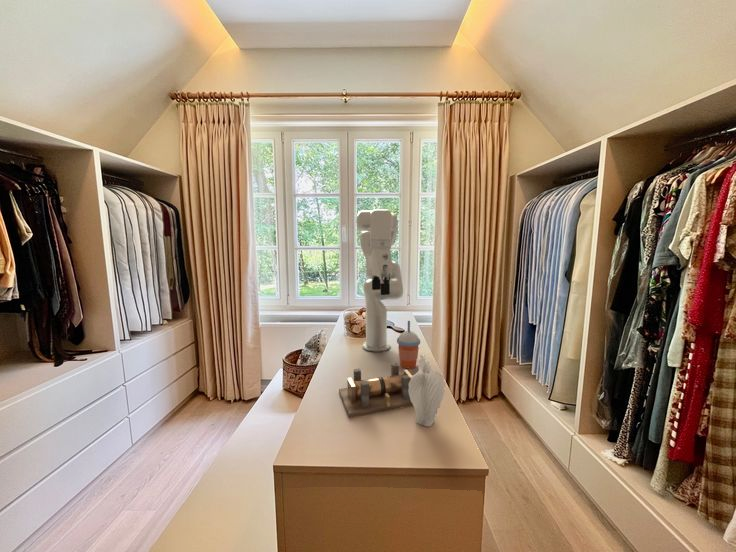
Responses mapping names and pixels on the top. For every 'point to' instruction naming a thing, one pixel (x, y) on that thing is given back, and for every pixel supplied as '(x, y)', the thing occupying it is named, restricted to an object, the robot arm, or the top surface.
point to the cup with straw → (408, 348)
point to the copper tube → (376, 386)
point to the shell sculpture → (426, 392)
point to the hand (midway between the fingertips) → (380, 292)
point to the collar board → (376, 397)
